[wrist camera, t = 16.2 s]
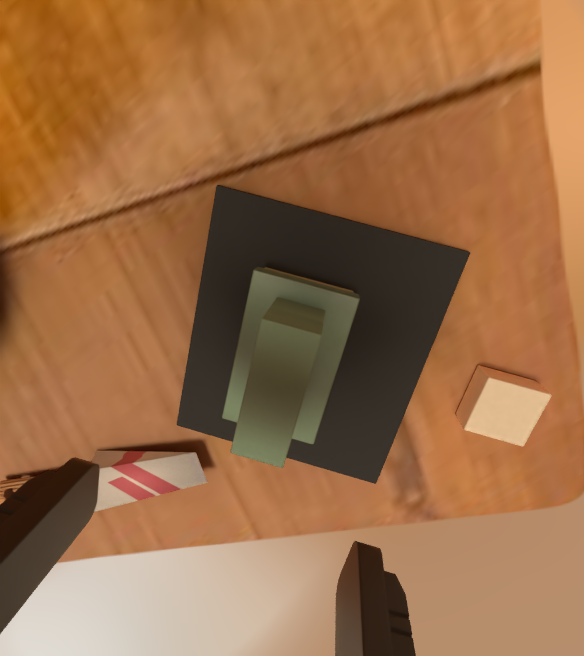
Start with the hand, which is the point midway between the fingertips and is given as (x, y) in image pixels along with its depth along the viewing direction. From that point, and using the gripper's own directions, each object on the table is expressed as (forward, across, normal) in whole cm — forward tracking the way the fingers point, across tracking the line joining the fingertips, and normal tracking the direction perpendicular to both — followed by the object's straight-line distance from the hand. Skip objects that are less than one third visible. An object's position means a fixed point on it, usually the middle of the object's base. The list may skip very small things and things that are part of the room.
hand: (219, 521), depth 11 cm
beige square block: (+16, -15, 0) cm, 22 cm away
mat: (+16, -1, 0) cm, 16 cm away
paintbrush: (+16, +13, +16) cm, 26 cm away
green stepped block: (+15, 0, 0) cm, 15 cm away
